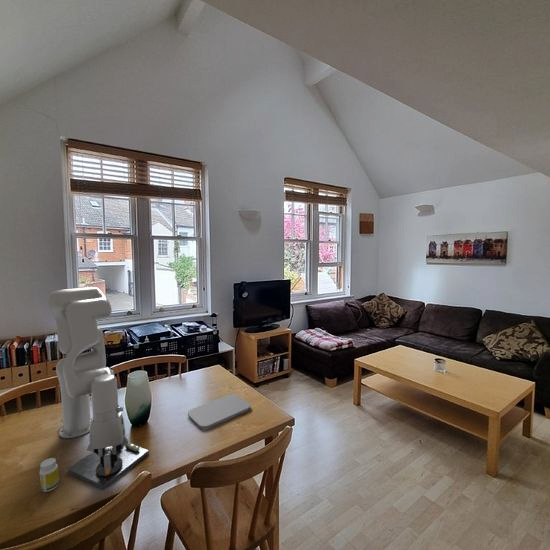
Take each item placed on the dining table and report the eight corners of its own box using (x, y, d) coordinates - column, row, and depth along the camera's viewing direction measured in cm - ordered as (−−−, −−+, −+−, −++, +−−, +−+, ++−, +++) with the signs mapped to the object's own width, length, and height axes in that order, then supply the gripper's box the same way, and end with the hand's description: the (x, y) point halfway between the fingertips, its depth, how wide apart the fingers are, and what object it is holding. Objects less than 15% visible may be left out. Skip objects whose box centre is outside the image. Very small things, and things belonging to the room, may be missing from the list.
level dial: (98, 462, 105) (97, 444, 105) (123, 456, 108) (122, 439, 107) (93, 481, 97) (91, 461, 96) (121, 474, 100) (119, 455, 99)
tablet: (185, 416, 137) (185, 411, 137) (233, 397, 154) (233, 392, 154) (202, 433, 125) (202, 427, 125) (253, 410, 142) (252, 405, 142)
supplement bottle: (62, 480, 100) (60, 456, 99) (52, 492, 95) (50, 467, 94) (47, 480, 100) (45, 457, 99) (37, 492, 95) (34, 467, 94)
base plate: (67, 472, 103) (66, 463, 103) (114, 441, 119) (114, 433, 119) (103, 490, 96) (102, 480, 95) (148, 454, 112) (148, 445, 112)
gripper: (133, 403, 107) (136, 452, 109) (82, 410, 102) (86, 461, 104) (130, 415, 100) (133, 467, 101) (74, 423, 95) (78, 477, 97)
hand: (109, 463), depth 103 cm, fingers closed on level dial, 2 cm apart
